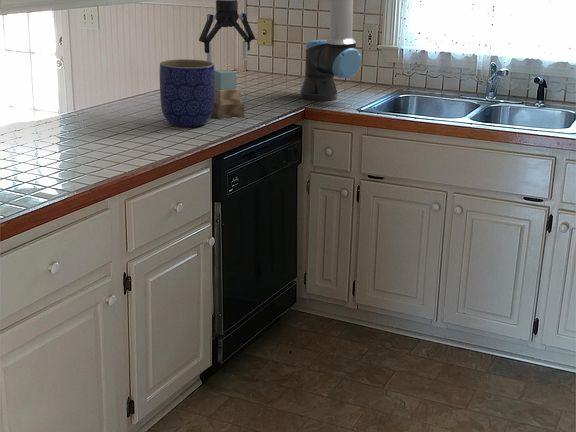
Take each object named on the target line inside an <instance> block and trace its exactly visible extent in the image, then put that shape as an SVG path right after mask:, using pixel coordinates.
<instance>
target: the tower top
mask: <svg viewBox="0 0 576 432" xmlns="http://www.w3.org/2000/svg"><path fill="white" fill-rule="evenodd" d="M241 91H242V90H241V89H240V88H237V87H236V89H232V90H219V89H217V88H215V97H214V103H216V104H218V105H230V104H240V102H241Z"/></svg>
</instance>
